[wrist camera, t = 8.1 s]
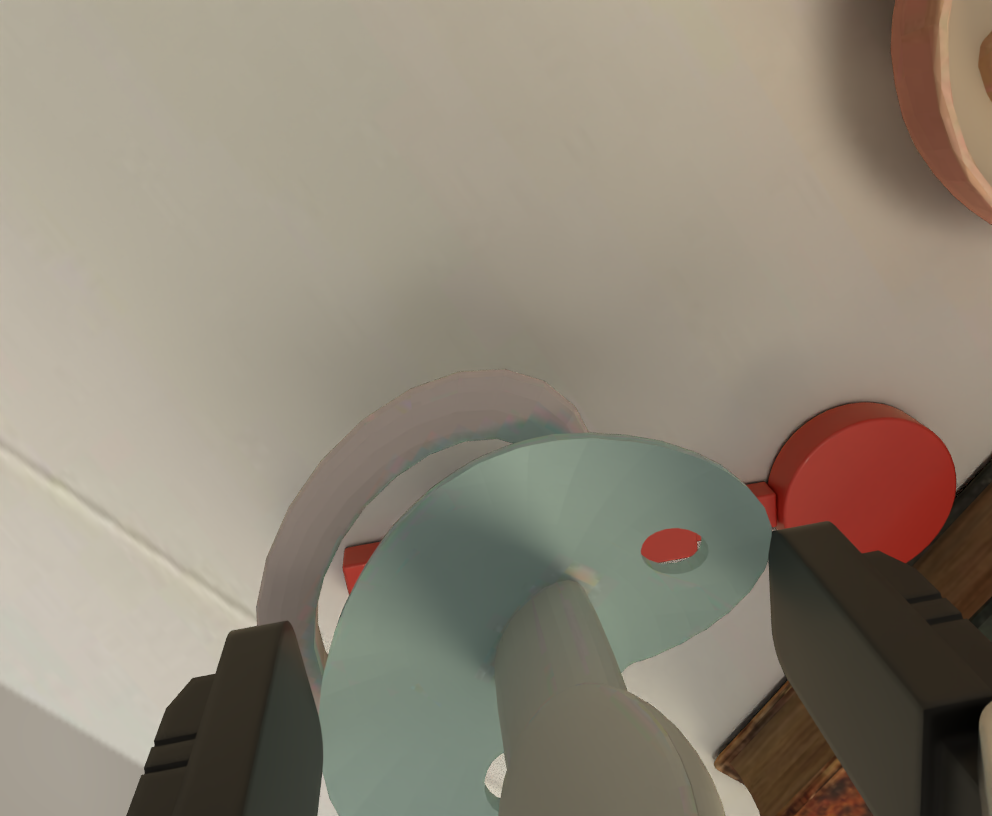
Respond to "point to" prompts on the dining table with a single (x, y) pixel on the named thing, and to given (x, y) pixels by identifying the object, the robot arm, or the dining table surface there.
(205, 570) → the dining table surface
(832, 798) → the book
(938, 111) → the mitochondrion model
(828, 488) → the spoon
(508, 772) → the pacifier
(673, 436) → the dining table surface
